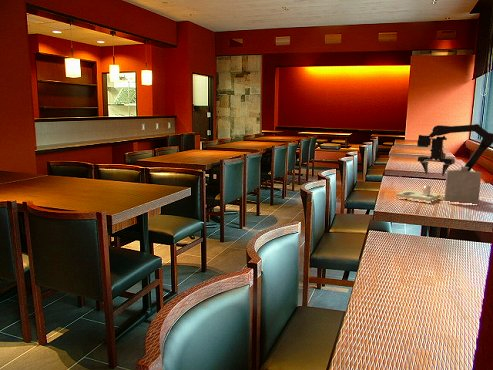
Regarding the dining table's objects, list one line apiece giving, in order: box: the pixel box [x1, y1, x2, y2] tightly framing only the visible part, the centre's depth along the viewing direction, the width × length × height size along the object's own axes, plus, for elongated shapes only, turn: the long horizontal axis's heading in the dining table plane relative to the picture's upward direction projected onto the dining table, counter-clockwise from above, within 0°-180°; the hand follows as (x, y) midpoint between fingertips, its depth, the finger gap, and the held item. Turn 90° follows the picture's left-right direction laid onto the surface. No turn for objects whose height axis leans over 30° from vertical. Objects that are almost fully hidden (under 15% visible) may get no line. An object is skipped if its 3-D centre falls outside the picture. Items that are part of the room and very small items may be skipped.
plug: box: [422, 185, 432, 197], centre depth 228 cm, size 3×3×8 cm
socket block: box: [396, 189, 441, 201], centre depth 232 cm, size 18×14×3 cm
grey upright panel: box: [443, 166, 482, 205], centre depth 219 cm, size 16×4×20 cm, turn 66°
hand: (434, 175), depth 240 cm, fingers open, 9 cm apart
